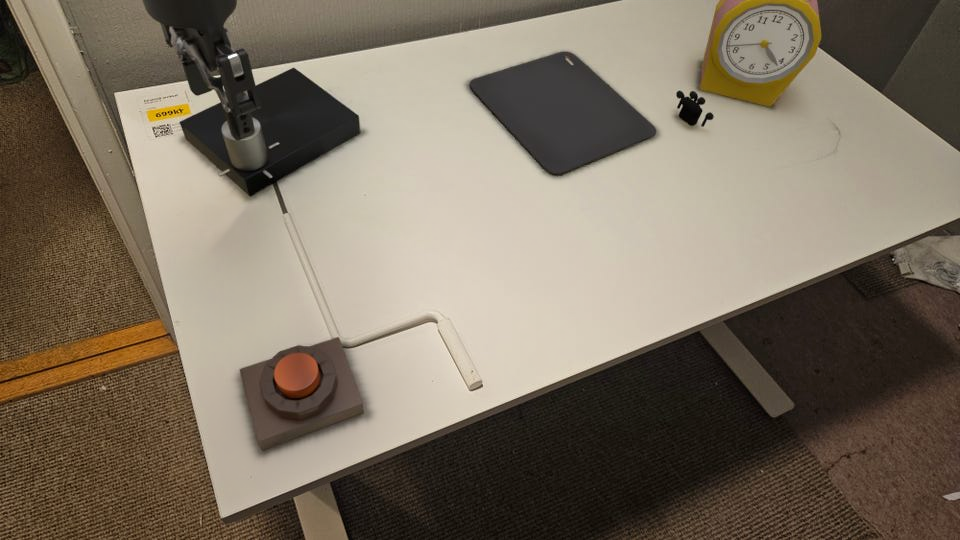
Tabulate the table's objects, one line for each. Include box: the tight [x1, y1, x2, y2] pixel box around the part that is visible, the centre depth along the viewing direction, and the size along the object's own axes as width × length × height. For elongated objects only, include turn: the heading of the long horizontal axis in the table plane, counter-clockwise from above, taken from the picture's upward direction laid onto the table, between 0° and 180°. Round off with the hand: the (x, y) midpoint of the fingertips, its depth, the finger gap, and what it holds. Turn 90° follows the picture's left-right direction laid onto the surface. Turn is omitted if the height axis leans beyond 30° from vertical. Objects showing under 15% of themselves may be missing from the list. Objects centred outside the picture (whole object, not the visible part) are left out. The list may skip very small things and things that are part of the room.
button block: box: [239, 336, 365, 451], centre depth 60 cm, size 10×8×4 cm
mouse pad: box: [469, 51, 657, 175], centre depth 92 cm, size 23×20×1 cm
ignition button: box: [274, 353, 320, 399], centre depth 58 cm, size 4×4×2 cm
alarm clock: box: [699, 0, 822, 108], centre depth 93 cm, size 15×8×18 cm, turn 74°
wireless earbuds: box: [675, 90, 715, 128], centre depth 91 cm, size 7×2×5 cm, turn 38°
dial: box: [221, 117, 268, 171], centre depth 73 cm, size 4×4×5 cm
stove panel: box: [179, 67, 361, 197], centre depth 81 cm, size 20×16×3 cm
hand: (222, 113), depth 63 cm, fingers open, 8 cm apart
